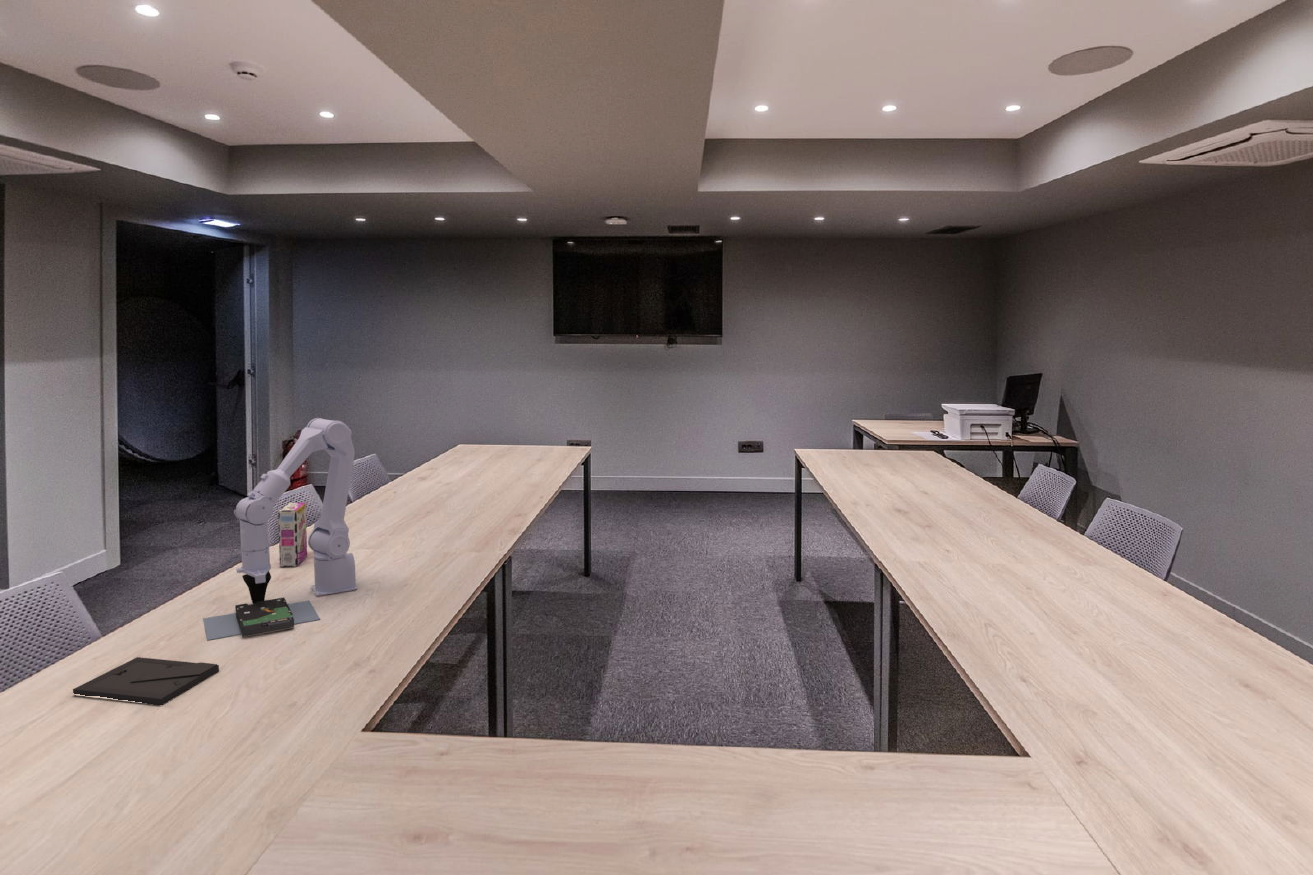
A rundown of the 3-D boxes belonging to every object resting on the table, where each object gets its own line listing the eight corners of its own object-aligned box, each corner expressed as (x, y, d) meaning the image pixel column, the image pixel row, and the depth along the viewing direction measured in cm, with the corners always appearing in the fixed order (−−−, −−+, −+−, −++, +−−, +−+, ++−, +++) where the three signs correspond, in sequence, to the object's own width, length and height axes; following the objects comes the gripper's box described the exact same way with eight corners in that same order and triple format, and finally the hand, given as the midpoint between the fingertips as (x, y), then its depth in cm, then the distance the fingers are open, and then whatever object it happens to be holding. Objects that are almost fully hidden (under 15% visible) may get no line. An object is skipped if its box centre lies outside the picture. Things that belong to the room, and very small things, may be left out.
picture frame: (219, 674, 136) (138, 666, 139) (218, 663, 136) (137, 655, 138) (161, 709, 123) (73, 699, 126) (160, 697, 123) (72, 687, 125)
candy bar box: (298, 567, 199) (296, 510, 197) (279, 568, 198) (276, 511, 195) (308, 555, 210) (306, 501, 207) (290, 556, 208) (287, 502, 206)
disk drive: (234, 616, 162) (242, 638, 151) (233, 605, 162) (241, 625, 150) (284, 608, 168) (295, 628, 157) (284, 596, 168) (295, 615, 156)
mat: (309, 601, 173) (309, 600, 173) (320, 619, 162) (320, 618, 162) (203, 619, 161) (203, 618, 161) (207, 640, 149) (207, 639, 149)
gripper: (232, 543, 169) (235, 597, 170) (238, 559, 157) (242, 617, 159) (265, 539, 173) (268, 592, 175) (274, 554, 161) (277, 611, 163)
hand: (258, 604), depth 167 cm, fingers closed
